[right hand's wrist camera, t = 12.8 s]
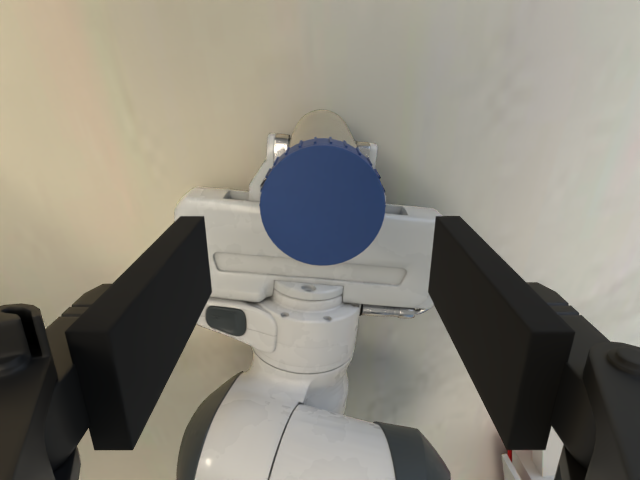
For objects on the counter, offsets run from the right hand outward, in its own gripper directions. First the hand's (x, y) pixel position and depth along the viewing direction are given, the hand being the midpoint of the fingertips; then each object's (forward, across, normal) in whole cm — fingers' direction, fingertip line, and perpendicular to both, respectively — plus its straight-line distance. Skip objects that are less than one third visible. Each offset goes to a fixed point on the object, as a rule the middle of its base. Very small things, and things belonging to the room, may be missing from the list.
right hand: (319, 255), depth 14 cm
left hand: (+18, 0, -1) cm, 18 cm away
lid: (+4, 0, 0) cm, 4 cm away
